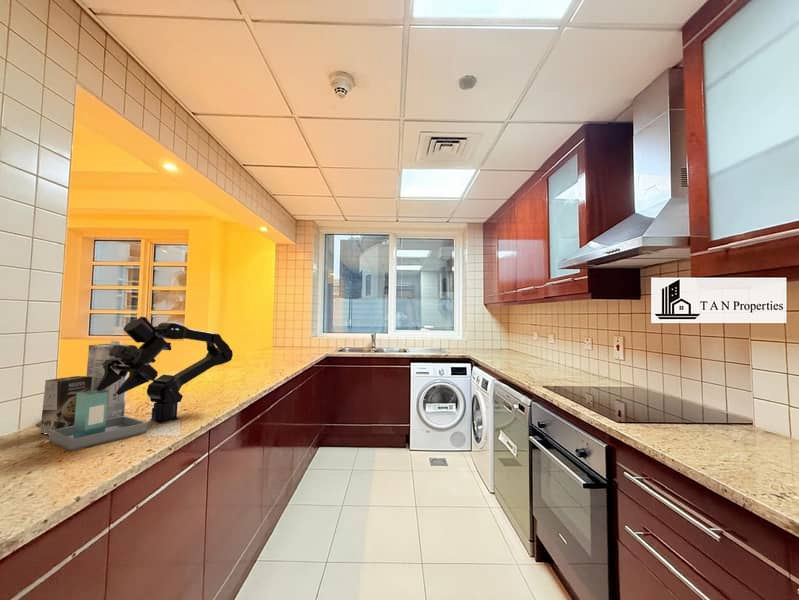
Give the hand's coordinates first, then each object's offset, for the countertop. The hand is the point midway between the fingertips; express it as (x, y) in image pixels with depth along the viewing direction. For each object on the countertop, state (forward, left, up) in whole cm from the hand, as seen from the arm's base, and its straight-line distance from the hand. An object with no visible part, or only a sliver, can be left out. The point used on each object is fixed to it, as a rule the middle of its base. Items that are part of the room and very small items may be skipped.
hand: (107, 392), depth 103 cm
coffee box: (+4, -15, -13) cm, 21 cm away
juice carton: (-7, -18, -13) cm, 24 cm away
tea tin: (+4, +1, -12) cm, 13 cm away
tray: (+1, 0, -13) cm, 13 cm away
